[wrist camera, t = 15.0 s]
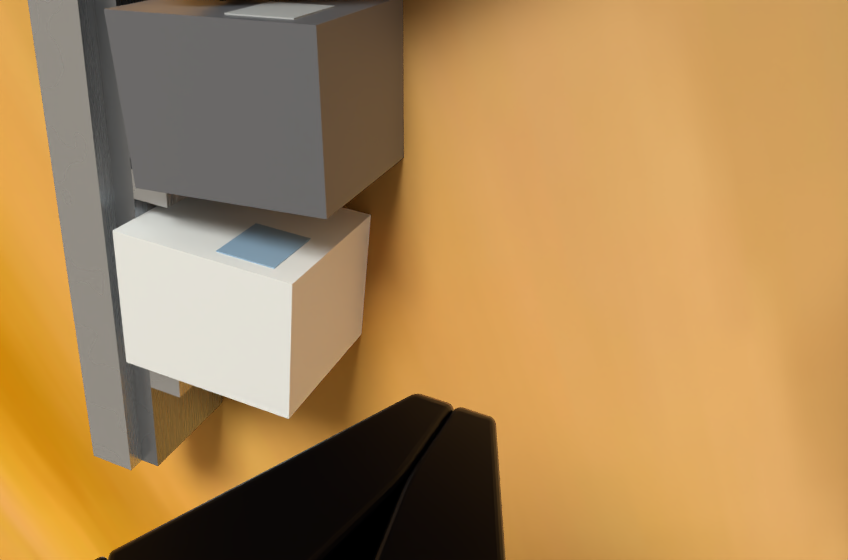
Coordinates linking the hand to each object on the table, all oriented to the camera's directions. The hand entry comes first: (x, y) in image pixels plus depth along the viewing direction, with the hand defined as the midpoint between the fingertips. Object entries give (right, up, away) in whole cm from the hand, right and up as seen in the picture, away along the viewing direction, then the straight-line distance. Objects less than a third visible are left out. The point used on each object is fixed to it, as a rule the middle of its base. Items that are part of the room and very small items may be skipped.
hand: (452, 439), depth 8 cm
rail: (-8, +4, +16) cm, 18 cm away
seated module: (-3, +7, +12) cm, 14 cm away
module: (-4, +2, +15) cm, 16 cm away
